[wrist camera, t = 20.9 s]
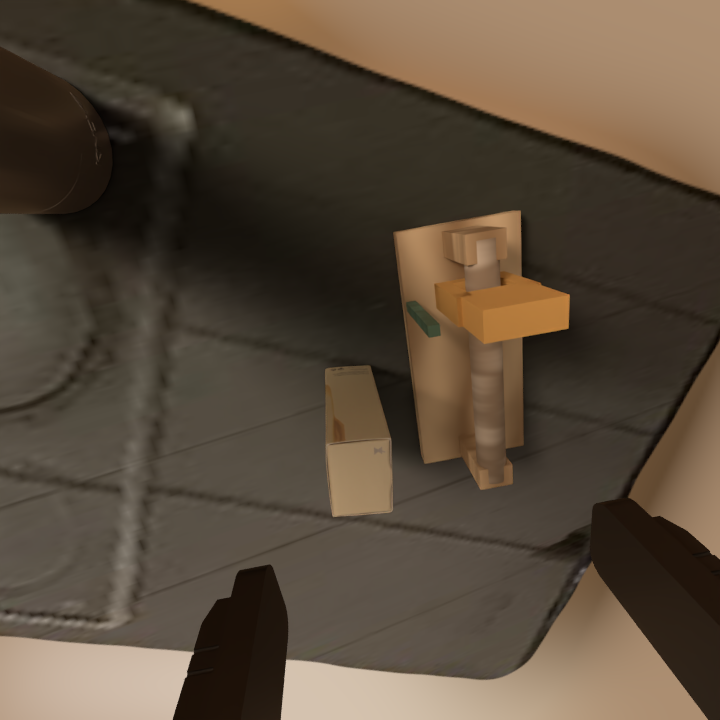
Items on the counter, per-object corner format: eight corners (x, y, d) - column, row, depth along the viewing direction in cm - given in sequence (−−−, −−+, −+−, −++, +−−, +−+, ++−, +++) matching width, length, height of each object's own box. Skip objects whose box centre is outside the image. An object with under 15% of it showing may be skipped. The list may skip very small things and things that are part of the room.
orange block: (436, 308, 31) (479, 345, 22) (434, 283, 30) (477, 311, 22) (504, 295, 31) (573, 327, 23) (504, 270, 31) (574, 293, 22)
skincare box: (324, 366, 36) (323, 439, 24) (371, 363, 36) (392, 433, 24) (329, 428, 38) (330, 520, 26) (373, 424, 38) (394, 514, 27)
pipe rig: (421, 455, 40) (446, 519, 31) (393, 231, 32) (417, 238, 23) (516, 437, 40) (567, 496, 32) (512, 210, 32) (578, 209, 24)
